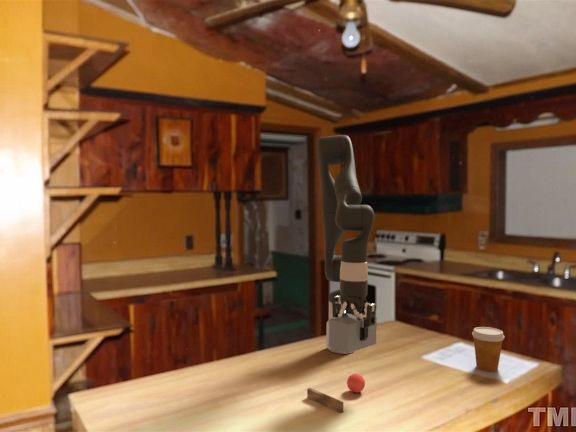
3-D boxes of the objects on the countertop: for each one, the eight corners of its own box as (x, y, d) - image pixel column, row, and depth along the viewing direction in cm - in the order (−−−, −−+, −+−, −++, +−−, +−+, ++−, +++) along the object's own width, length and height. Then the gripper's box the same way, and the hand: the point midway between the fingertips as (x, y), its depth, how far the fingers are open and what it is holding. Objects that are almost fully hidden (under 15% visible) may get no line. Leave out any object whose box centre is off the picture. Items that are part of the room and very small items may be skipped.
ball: (350, 367, 137) (356, 379, 140) (341, 381, 135) (347, 393, 137) (364, 372, 134) (370, 384, 136) (355, 387, 131) (362, 398, 133)
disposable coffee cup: (502, 364, 158) (503, 328, 157) (504, 375, 149) (506, 336, 148) (470, 361, 161) (471, 325, 160) (471, 371, 152) (472, 333, 151)
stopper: (307, 397, 132) (307, 388, 131) (309, 396, 132) (310, 387, 132) (340, 413, 123) (340, 403, 123) (343, 411, 123) (343, 402, 123)
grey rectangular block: (328, 346, 133) (329, 319, 132) (357, 338, 141) (357, 312, 140) (347, 353, 128) (348, 324, 127) (376, 343, 136) (376, 316, 135)
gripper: (325, 275, 136) (324, 334, 137) (365, 283, 125) (364, 346, 126) (343, 272, 141) (342, 328, 142) (383, 279, 130) (382, 340, 131)
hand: (352, 337), depth 134 cm, fingers closed on grey rectangular block, 7 cm apart
